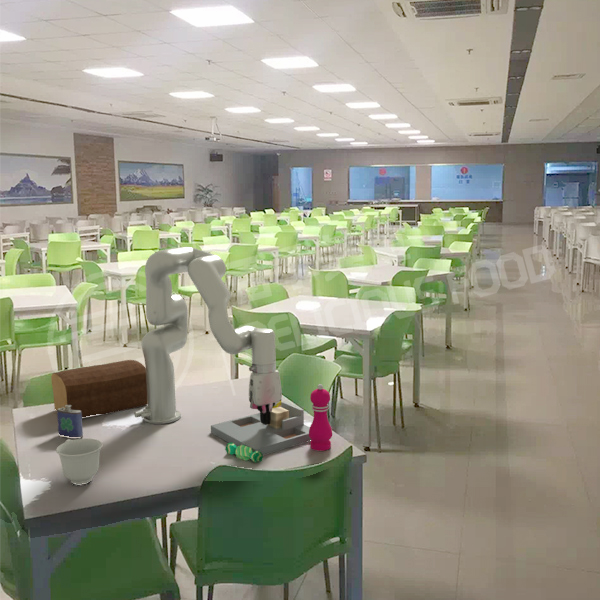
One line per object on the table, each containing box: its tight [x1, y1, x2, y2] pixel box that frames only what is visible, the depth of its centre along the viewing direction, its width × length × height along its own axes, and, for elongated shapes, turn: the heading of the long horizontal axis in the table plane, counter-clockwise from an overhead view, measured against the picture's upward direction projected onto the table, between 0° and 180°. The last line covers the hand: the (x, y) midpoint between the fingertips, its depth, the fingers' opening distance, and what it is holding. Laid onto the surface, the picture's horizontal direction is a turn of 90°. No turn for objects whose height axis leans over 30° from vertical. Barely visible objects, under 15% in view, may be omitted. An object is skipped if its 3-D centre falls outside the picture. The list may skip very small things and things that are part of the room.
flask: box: [56, 405, 84, 438], centre depth 215 cm, size 9×3×11 cm, turn 68°
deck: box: [210, 401, 311, 456], centre depth 215 cm, size 24×26×8 cm
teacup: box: [55, 438, 103, 484], centre depth 184 cm, size 12×15×10 cm
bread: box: [50, 359, 148, 417], centre depth 243 cm, size 18×30×16 cm, turn 126°
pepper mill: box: [309, 383, 333, 452], centre depth 203 cm, size 7×7×20 cm
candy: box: [224, 442, 264, 464], centre depth 198 cm, size 12×3×4 cm
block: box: [268, 407, 289, 429], centre depth 217 cm, size 5×5×5 cm
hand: (265, 423), depth 215 cm, fingers closed
